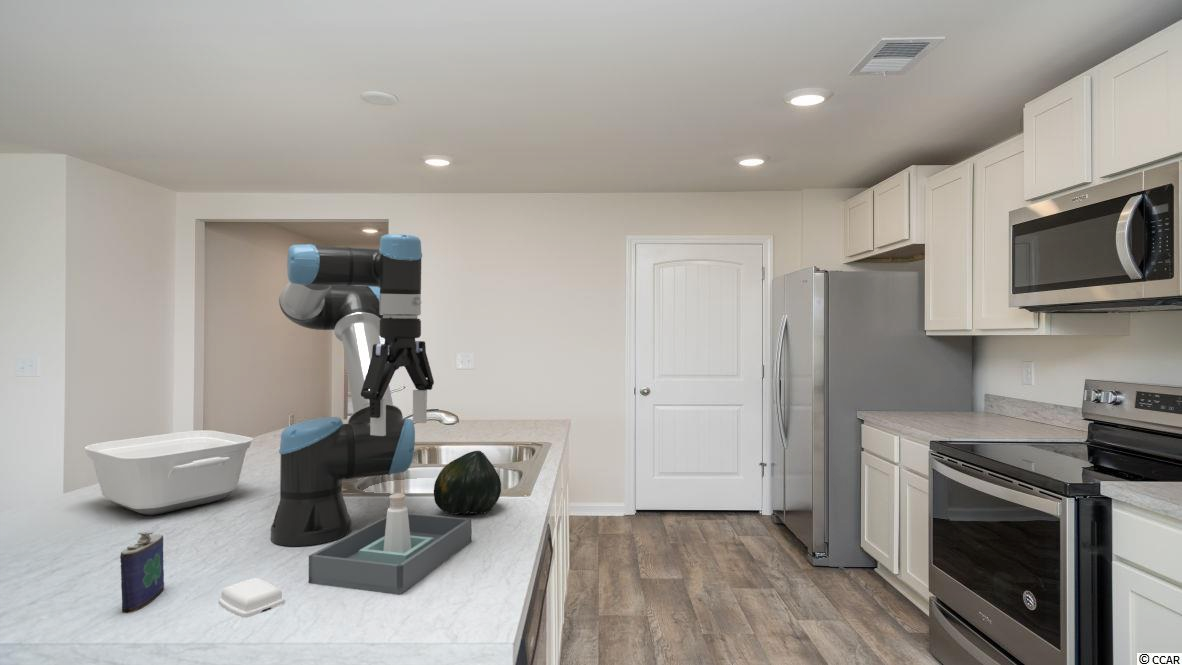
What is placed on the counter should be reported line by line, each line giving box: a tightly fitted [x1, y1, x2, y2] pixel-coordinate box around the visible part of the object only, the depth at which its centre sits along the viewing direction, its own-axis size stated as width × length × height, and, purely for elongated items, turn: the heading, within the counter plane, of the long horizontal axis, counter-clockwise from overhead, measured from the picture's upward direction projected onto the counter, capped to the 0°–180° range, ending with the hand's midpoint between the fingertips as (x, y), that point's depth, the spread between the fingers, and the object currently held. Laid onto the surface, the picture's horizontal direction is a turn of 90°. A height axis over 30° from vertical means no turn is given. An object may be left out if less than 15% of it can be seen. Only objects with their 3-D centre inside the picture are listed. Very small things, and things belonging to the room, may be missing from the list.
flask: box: [119, 531, 165, 614], centre depth 98 cm, size 9×3×11 cm, turn 8°
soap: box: [218, 577, 286, 618], centre depth 97 cm, size 9×7×3 cm
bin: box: [308, 512, 473, 595], centre depth 115 cm, size 17×25×4 cm
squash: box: [433, 450, 502, 515], centre depth 144 cm, size 14×15×15 cm
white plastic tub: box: [84, 429, 254, 516], centre depth 151 cm, size 34×29×15 cm
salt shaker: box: [383, 492, 411, 553], centre depth 115 cm, size 5×5×11 cm
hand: (399, 428), depth 119 cm, fingers open, 13 cm apart
